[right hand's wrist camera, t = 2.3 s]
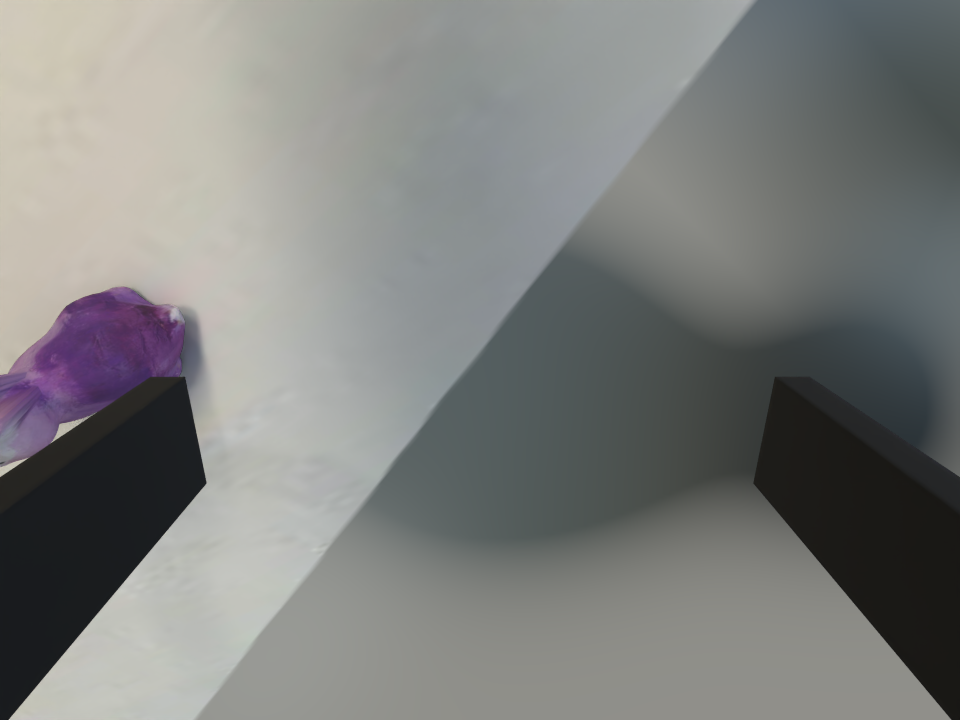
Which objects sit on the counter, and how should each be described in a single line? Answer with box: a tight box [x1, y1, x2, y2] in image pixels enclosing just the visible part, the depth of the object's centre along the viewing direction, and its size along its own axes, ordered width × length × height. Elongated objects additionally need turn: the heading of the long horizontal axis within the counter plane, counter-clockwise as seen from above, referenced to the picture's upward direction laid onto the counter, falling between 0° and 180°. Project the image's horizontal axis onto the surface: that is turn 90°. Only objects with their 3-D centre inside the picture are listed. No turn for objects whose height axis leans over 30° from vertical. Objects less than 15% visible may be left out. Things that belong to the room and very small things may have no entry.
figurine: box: [0, 287, 185, 467], centre depth 34 cm, size 9×10×15 cm
